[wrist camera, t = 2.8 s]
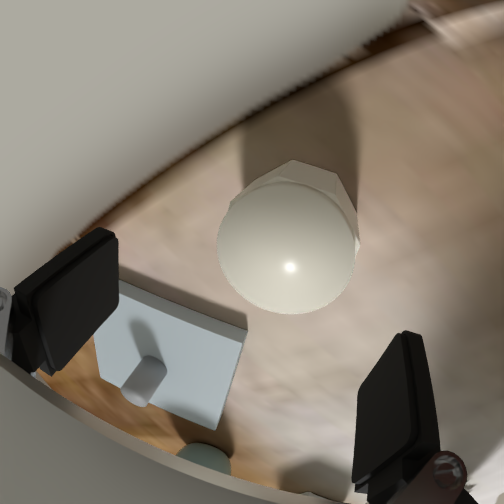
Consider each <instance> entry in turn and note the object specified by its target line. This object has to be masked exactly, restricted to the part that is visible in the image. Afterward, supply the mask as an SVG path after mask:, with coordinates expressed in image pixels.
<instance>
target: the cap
mask: <svg viewBox="0 0 504 504" xmlns="http://www.w3.org/2000/svg"><path fill="white" fill-rule="evenodd" d="M359 247H360V238H359V228H358V219H357V212H356V210H355V208H354V206H353V204H352V202H351V200H350V198H349V196H348V194H347V192H346V190H345V188H344V186H343V184H342V182H341V181H340V179H339V177H338V175H337V174H336V173H333V172H330V171H327V170H324V169H321V168H318V167H315V166H312V165H309V164H306V163H302V162H299V161H296V160H291V161H289V162H287V163H285V164H283V165H281V166H279V167H278V168H276V169H274V170H272V171H270V172H268V173H266V174H265V175H263V176H261V177H259V178H257V179H255V180H254V181H253V182H252V183H251V184H250V185H248V186H247V187H246V188H245V189H244V190H243V191H242V192H241V193H239V194H238V195H237V196H236V197H235V198H234V199H233V200H232V201H231V202H230V205H229V210H228V212H227V214H226V215H225V217H224V219H223V221H222V223H221V225H220V228H219V232H218V237H217V254H218V259H219V263H220V266H221V269H222V271H223V273H224V275H225V277H226V278H227V280H228V282H229V283H230V284H231V286H232V287H233V288H234V289H235V290H236V291H237V292H238V293H239V294H240V295H241V296H242V297H244V298H245V299H246V300H248V301H249V302H251V303H252V304H254V305H256V306H258V307H260V308H263V309H265V310H268V311H271V312H275V313H281V314H302V313H308V312H311V311H315V310H317V309H320V308H322V307H324V306H326V305H327V304H329V303H331V302H332V301H333V300H334V299H336V298H337V297H338V296H339V295H340V294H341V293H342V291H343V290H344V289H345V287H346V286H347V284H348V282H349V280H350V278H351V276H352V273H353V269H354V264H355V256H356V254H357V251H358V249H359Z"/></svg>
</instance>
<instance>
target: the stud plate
mask: <svg viewBox="0 0 504 504" xmlns="http://www.w3.org/2000/svg"><path fill="white" fill-rule="evenodd" d="M247 333H248V331H247V330H244V329H241V328H238V327H236V326H233V325H230V324H228V323H225V322H222V321H220V320H217V319H214V318H212V317H209V316H206V315H204V314H201V313H199V312H196V311H193V310H191V309H188V308H186V307H183V306H181V305H178V304H176V303H173V302H171V301H169V300H166V299H164V298H161V297H159V296H156V295H154V294H152V293H149V292H147V291H145V290H142V289H140V288H138V287H135V286H133V285H131V284H128V283H126V282H124V281H121V280H119V304H118V307H117V309H116V310H115V311H114V312H113V313H112V314H111V315H110V316H109V317H108V319H107V320H106V321H105V322H104V323H103V324H102V325H101V326H100V327H99V328H98V329H97V331H96V332H95V333H94V341H95V348H96V354H97V360H98V366H99V371H100V377H101V378H103V379H105V380H106V381H108V382H110V383H112V384H114V385H116V386H117V387H119V388H121V393H122V394H123V396H124V397H125V398H126V399H127V400H128V401H130V402H131V403H133V404H135V405H137V406H140V407H145V406H146V405H147V404H148V402H149V403H151V404H153V405H155V406H158V407H160V408H162V409H164V410H166V411H168V412H171V413H173V414H175V415H178V416H180V417H182V418H185V419H187V420H189V421H192V422H194V423H197V424H199V425H202V426H204V427H207V428H209V429H212V430H216V428H217V426H218V423H219V421H220V418H221V415H222V412H223V409H224V406H225V403H226V400H227V396H228V393H229V390H230V387H231V384H232V381H233V377H234V374H235V371H236V368H237V365H238V362H239V358H240V355H241V352H242V349H243V346H244V342H245V339H246V336H247Z"/></svg>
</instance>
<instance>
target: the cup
mask: <svg viewBox="0 0 504 504" xmlns="http://www.w3.org/2000/svg"><path fill="white" fill-rule="evenodd" d="M175 456H178V457H180V458H183V459H185V460H188V461H190V462H193V463H195V464H198V465H201V466H203V467H206V468H209V469H212V470H215V471H218V472H220V473H223V474H226V475H229V476H231V463H230V460H229V458H228V457H227V455H226V454H225V453H224V452H222V451H221V450H219V449H217V448H215V447H213V446H210V445H207V444H203V443H191V444H188V445H186V446H184V447H183V448H182V449H180V450H179V452H178V453H177V454H176V455H175Z"/></svg>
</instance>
